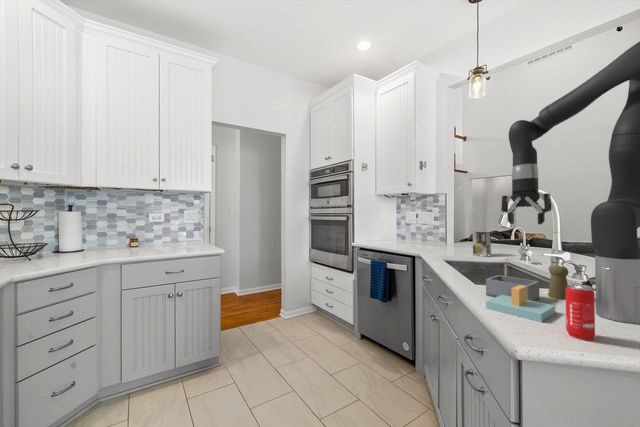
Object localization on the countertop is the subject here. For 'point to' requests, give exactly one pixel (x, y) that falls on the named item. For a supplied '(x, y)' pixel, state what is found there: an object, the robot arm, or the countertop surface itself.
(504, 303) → the lid
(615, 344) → the countertop surface
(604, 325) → the countertop surface
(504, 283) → the tub
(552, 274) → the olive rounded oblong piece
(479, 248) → the coffee box
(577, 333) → the beverage can
